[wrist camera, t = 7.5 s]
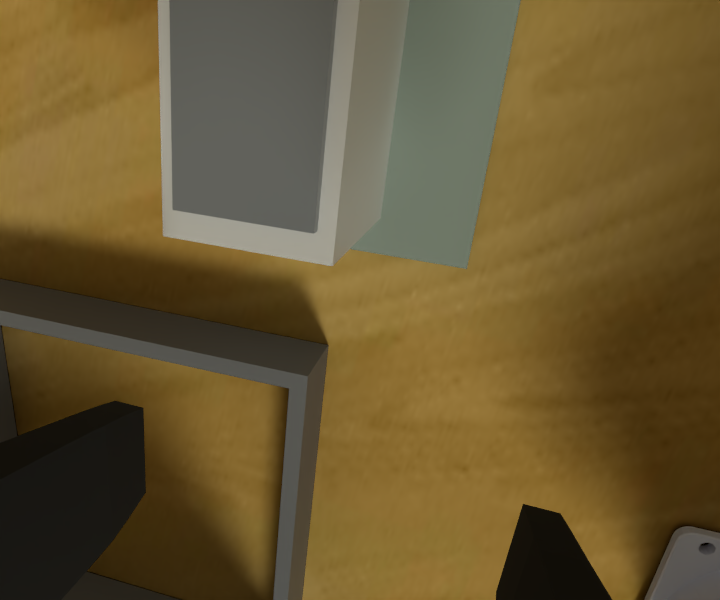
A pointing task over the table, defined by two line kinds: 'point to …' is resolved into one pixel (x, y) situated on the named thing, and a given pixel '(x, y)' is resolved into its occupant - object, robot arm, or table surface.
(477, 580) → the table surface
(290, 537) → the case
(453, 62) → the rubber mat
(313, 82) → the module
